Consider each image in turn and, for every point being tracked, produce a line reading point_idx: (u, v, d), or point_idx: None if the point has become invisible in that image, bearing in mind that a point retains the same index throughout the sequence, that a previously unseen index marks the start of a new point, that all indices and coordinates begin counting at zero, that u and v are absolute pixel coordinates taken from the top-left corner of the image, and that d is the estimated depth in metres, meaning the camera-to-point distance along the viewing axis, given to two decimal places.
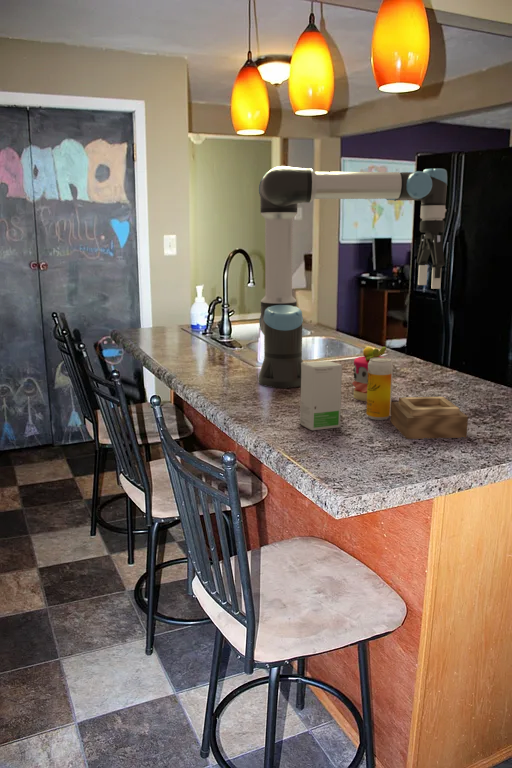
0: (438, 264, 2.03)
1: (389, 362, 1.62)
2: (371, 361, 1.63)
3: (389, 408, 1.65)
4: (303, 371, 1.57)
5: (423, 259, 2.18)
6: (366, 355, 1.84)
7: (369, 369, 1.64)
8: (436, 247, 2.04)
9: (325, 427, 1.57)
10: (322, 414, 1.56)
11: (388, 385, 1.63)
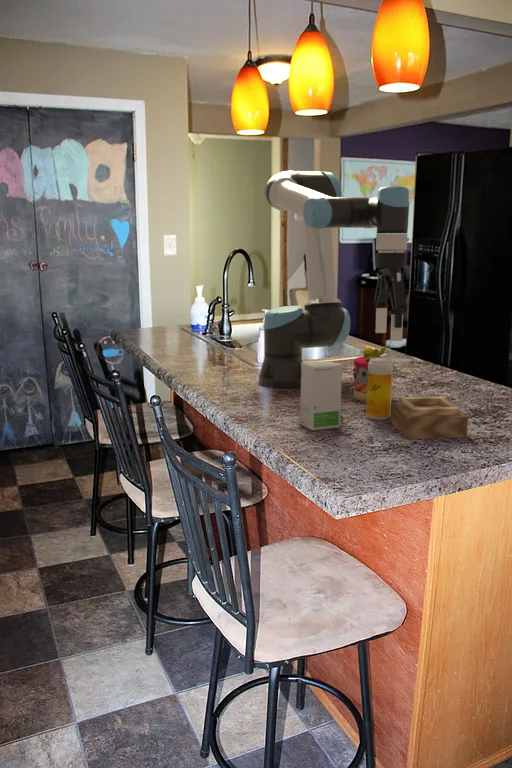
0: (398, 310, 1.56)
1: (389, 362, 1.62)
2: (371, 361, 1.63)
3: (389, 408, 1.65)
4: (303, 371, 1.57)
5: (381, 301, 1.71)
6: (366, 355, 1.84)
7: (369, 369, 1.64)
8: (396, 288, 1.57)
9: (325, 427, 1.57)
10: (322, 414, 1.56)
11: (388, 385, 1.63)
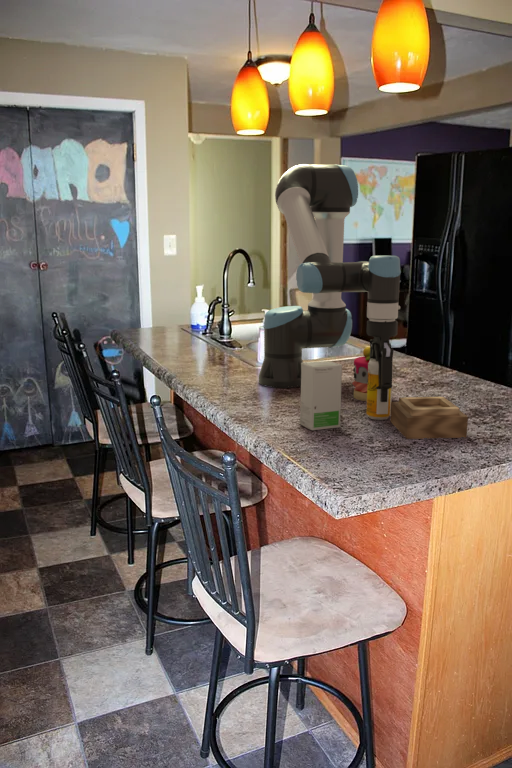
0: (383, 386, 1.59)
1: None
2: (371, 361, 1.63)
3: (389, 408, 1.65)
4: (303, 371, 1.57)
5: None
6: (366, 355, 1.84)
7: (369, 369, 1.64)
8: (383, 364, 1.58)
9: (325, 427, 1.57)
10: (322, 414, 1.56)
11: None
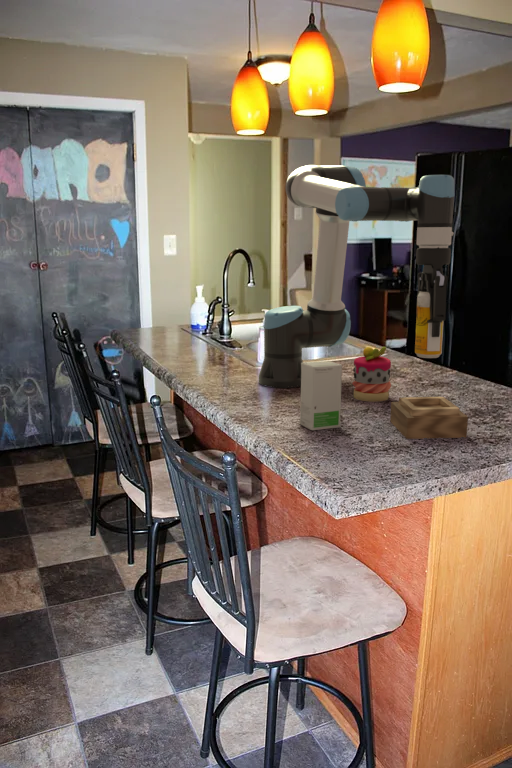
0: (436, 318, 1.45)
1: None
2: (421, 293, 1.49)
3: (440, 345, 1.51)
4: (303, 371, 1.57)
5: None
6: (366, 355, 1.84)
7: (419, 302, 1.50)
8: (437, 294, 1.44)
9: (325, 427, 1.57)
10: (322, 414, 1.56)
11: None
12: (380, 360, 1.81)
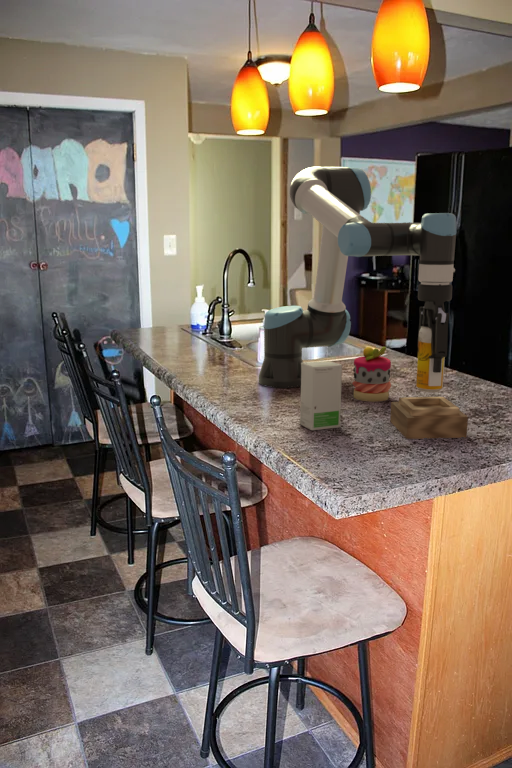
0: (438, 355, 1.46)
1: None
2: (423, 328, 1.51)
3: (442, 380, 1.53)
4: (303, 371, 1.57)
5: None
6: (366, 355, 1.84)
7: (420, 337, 1.51)
8: (438, 331, 1.45)
9: (325, 427, 1.57)
10: (322, 414, 1.56)
11: None
12: (380, 360, 1.81)
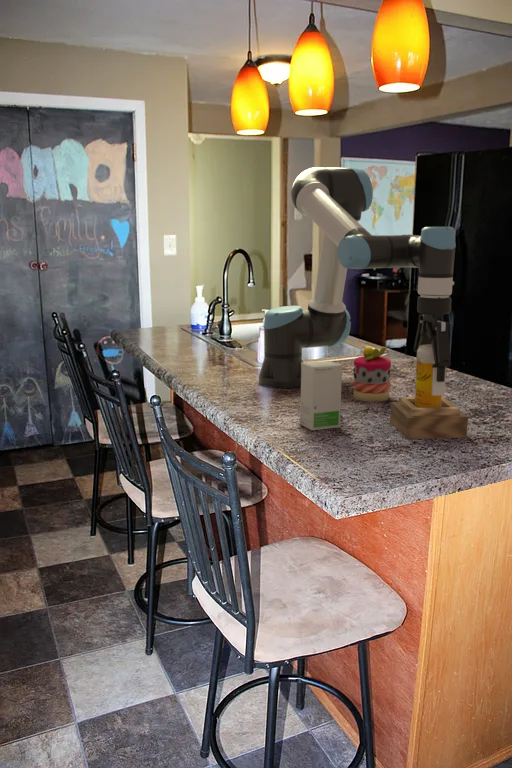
0: (442, 364, 1.44)
1: None
2: (421, 349, 1.52)
3: (440, 399, 1.54)
4: (303, 371, 1.57)
5: None
6: (366, 355, 1.84)
7: (419, 357, 1.52)
8: (439, 339, 1.45)
9: (325, 427, 1.57)
10: (322, 414, 1.56)
11: None
12: (380, 360, 1.81)
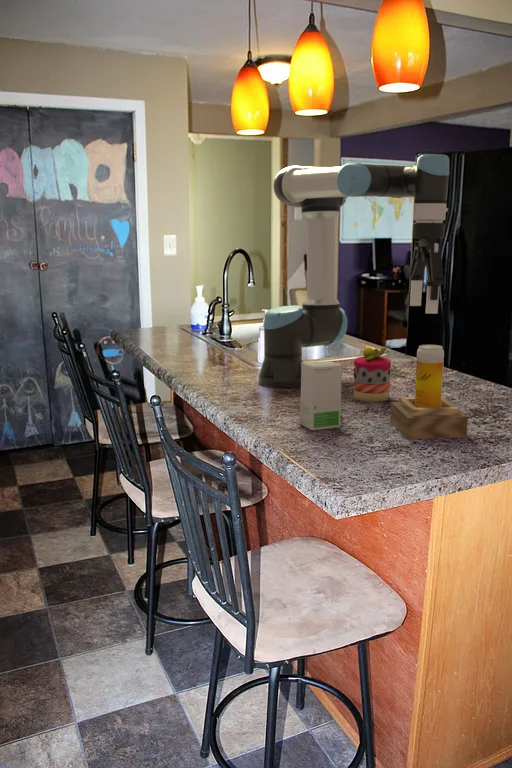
0: (435, 282, 1.53)
1: (440, 349, 1.51)
2: (421, 348, 1.52)
3: (440, 399, 1.54)
4: (303, 371, 1.57)
5: (417, 273, 1.68)
6: (366, 355, 1.84)
7: (418, 357, 1.52)
8: (433, 259, 1.54)
9: (325, 427, 1.57)
10: (322, 414, 1.56)
11: (439, 374, 1.52)
12: (380, 360, 1.81)
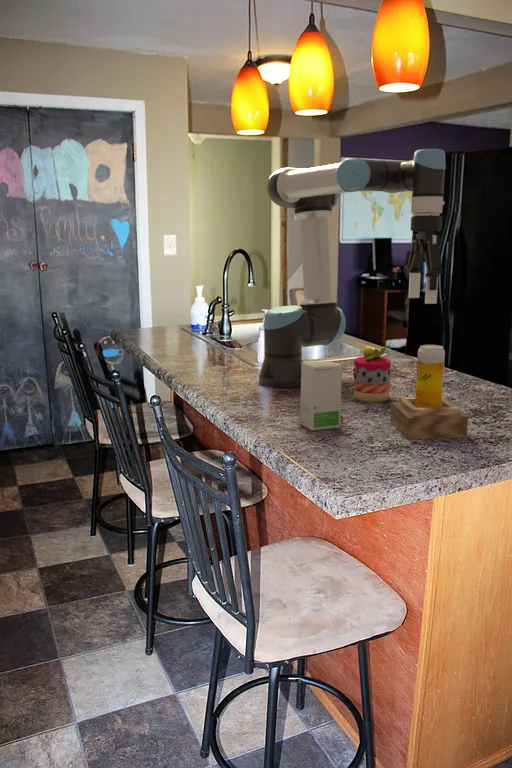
0: (434, 272, 1.57)
1: (441, 349, 1.51)
2: (422, 348, 1.52)
3: (440, 399, 1.54)
4: (303, 371, 1.57)
5: (415, 265, 1.72)
6: (366, 355, 1.84)
7: (419, 357, 1.52)
8: (431, 250, 1.58)
9: (325, 427, 1.57)
10: (322, 414, 1.56)
11: (440, 374, 1.52)
12: (380, 360, 1.81)
